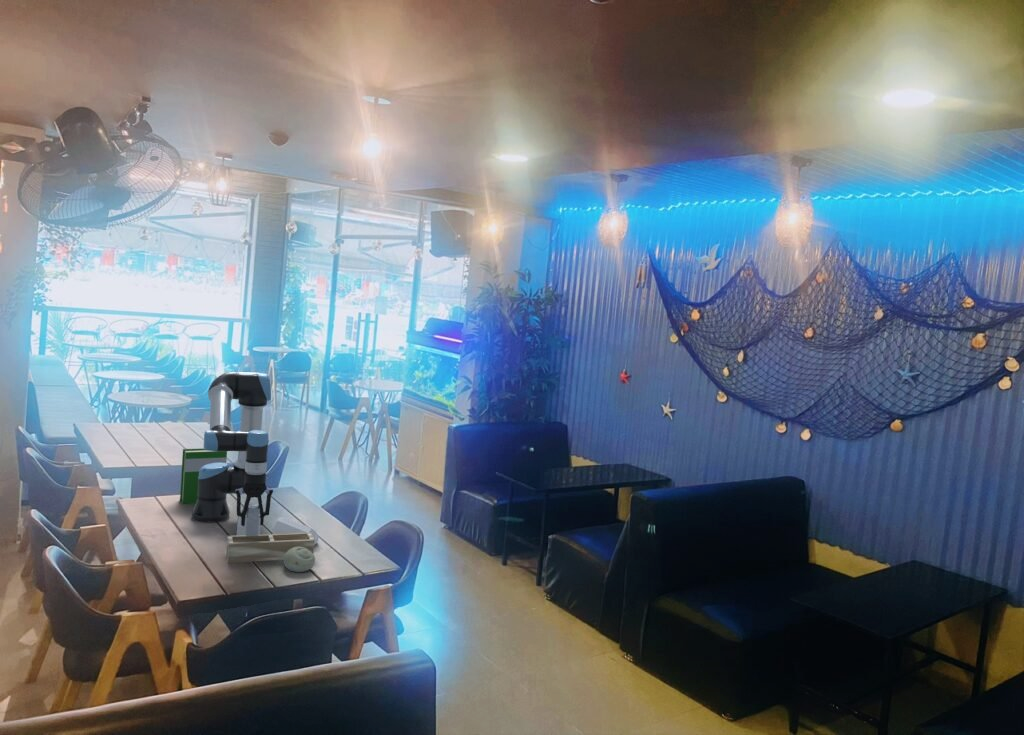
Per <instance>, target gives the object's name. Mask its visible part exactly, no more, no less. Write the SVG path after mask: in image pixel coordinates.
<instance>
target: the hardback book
mask: <svg viewBox="0 0 1024 735" xmlns="http://www.w3.org/2000/svg"><path fill="white" fill-rule="evenodd" d="M227 457H228V451H207V450H205V449H204V447H203V448H202V447H201V448H197V447H196V448H182V458H181V459H182V460H181V473H180V474H181V477H180V478H181V479H180V493H179V495H180V496H179V500H180V501H182V505H195V504H196V502H197V496H198V481H199V479H198V476H199V470H200V468H201V467H202V466H204V465H207V464H211V463H220V462H222V463H227Z"/></svg>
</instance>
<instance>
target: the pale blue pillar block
mask: <svg viewBox="0 0 1024 735" xmlns="http://www.w3.org/2000/svg"><path fill="white" fill-rule="evenodd" d="M259 513H260V507H259V504H258V503H254V504H253V503H249V506H248V509H247V531H246V536H258V523H259Z"/></svg>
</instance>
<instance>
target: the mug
mask: <svg viewBox="0 0 1024 735" xmlns="http://www.w3.org/2000/svg"><path fill="white" fill-rule="evenodd" d="M242 511H243V509H241V511H240V512H241V513H242ZM246 516H247V513H246ZM259 516H260V513H259ZM260 528H262V525H260ZM236 535H244V526H242V525H241V517H240V516H237V522H236Z"/></svg>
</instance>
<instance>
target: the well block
mask: <svg viewBox="0 0 1024 735" xmlns="http://www.w3.org/2000/svg"><path fill="white" fill-rule="evenodd" d="M226 543H227V544H226V560H227V563H231V564H232V563H233V564H234V563H248V562H249V563H251V562H266V561H267V562H268V561H269V562H270V561H282V560H283V561H284V556H285V554H286V552H287V551H288V550H290V549H291V548H294V547H304V548H307V549H308V550H309V551H310V552H312V553H313V555H314V553H315V545H314V538H313V536H312V534H311V532H308V533H284V534H273V533H267V534H266V533H264V534H263V533H262V534H261V533H260V535H258V536H246V535H237V534H236V535H227V542H226Z"/></svg>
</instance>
